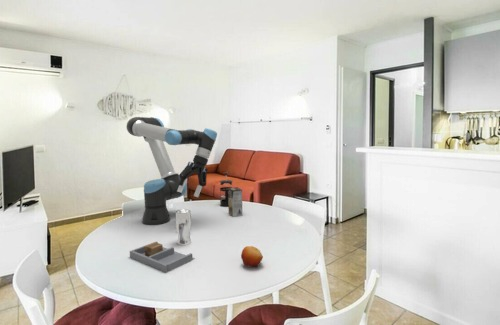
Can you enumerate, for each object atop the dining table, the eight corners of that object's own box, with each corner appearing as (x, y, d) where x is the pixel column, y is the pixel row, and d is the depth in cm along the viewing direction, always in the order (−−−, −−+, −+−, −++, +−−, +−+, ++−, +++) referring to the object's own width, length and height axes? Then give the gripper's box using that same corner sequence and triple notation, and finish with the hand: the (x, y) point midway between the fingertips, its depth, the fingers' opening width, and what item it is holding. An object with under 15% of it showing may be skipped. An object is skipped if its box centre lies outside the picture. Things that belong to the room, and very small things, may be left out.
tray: (130, 258, 116) (129, 251, 116) (159, 247, 128) (159, 240, 127) (166, 274, 103) (165, 265, 103) (195, 259, 114) (195, 252, 114)
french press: (234, 206, 195) (233, 173, 193) (220, 207, 194) (219, 173, 192) (233, 202, 207) (232, 170, 204) (219, 203, 206) (219, 171, 203)
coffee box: (228, 213, 179) (227, 187, 178) (237, 212, 182) (237, 187, 180) (233, 217, 171) (232, 190, 169) (243, 215, 173) (242, 189, 172)
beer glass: (178, 247, 127) (177, 214, 125) (174, 242, 133) (173, 210, 131) (194, 244, 130) (192, 211, 128) (189, 239, 136) (188, 208, 134)
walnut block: (145, 255, 118) (144, 245, 118) (155, 251, 122) (154, 242, 122) (152, 258, 115) (151, 248, 115) (162, 253, 119) (162, 244, 119)
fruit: (235, 257, 112) (246, 239, 112) (253, 266, 113) (263, 249, 113) (236, 267, 104) (247, 248, 104) (255, 276, 105) (266, 258, 105)
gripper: (192, 151, 143) (177, 191, 140) (219, 164, 164) (207, 200, 161) (181, 148, 147) (166, 187, 144) (209, 161, 168) (197, 196, 165)
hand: (187, 194), depth 153 cm, fingers open, 13 cm apart
